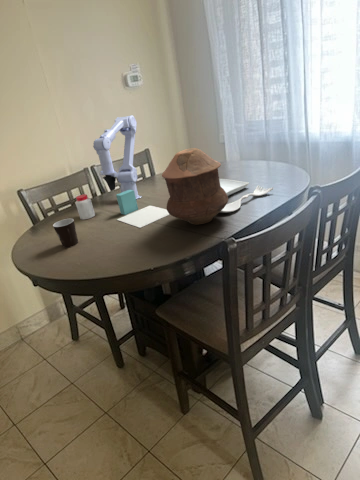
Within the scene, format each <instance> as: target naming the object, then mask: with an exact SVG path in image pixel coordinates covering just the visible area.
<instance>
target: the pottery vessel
mask: <svg viewBox="0 0 360 480" xmlns="http://www.w3.org/2000/svg"><path fill="white" fill-rule="evenodd" d="M221 165H222V163H221V162H219V161H217V160H215V159H213V158H212V157H211V156H210V155H208V154H207V153H205V152H204V151H202V149H199V148H198V147H190V148H186V149H183V150H180V151H178V152H176V153H175V154H174V155H173V157H172V159H171V161H170V162H169V163H168V165H167V167H165V169H164V171H163V172H162V174H161V177H162V178H163V179H164V180H165V184H166V187H167V191H168V195H169V198H168V200H167V202H166V209H167V211H168V213H169V214H170V215H169V216H172V217H173V218H176V219H179V220H182V221H185V222H187V223H188V222H189V223H190V224H192V225H203V224H207V223H209V222H211V221H213V218H214V217H215V216H217V215H218V214H219V213H221V212H220V211H221V210H222V209H223V208H224V207H225V206H226V204H228V202H229V196H227V194H226V192H225V191H224V189H223V188H222V187H221V186H220V181H219V179H220V176H219V168H220V167H221Z"/></svg>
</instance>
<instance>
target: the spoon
mask: <svg viewBox="0 0 360 480" xmlns="http://www.w3.org/2000/svg"><path fill="white" fill-rule="evenodd" d="M273 190H274V186H273V187H267V188H266V187H262V186H260V185H256V188H255V189H254V191H253V192H252V193H247V194H245V195H242V196H241V197H240V198H238V199H237V200H235V201H233V202H229V203H227V204H226V206H225V207H224V208H223V209H222V210H221V211H220V212H219V213H225V214H226V213H232V212H233V213H234V212H236V211H237V210H239V209H240V207H241V205H242V201H243V200H244V199H248V198H249V197H262V196H264V195H266V194H267V193H269V192H272V191H273Z"/></svg>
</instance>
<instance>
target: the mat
mask: <svg viewBox="0 0 360 480" xmlns="http://www.w3.org/2000/svg"><path fill="white" fill-rule="evenodd" d="M168 216H171V215H170V214H169V213H168V211H167V208H163V207H158V206H154V205H147V206H145V207H143V208H140V209H138V210H136V211H134V212H131V213H129V214H127V215H124V216H122V217H119V218H117V219H116V221H119V222H122V223H124V224H127V225H130V226H133V227H136V228H139V229H142V228H143V227H146V226H148V225H151V224H152V223H155V222H157V221H159V220H162V219H163V218H166V217H168Z"/></svg>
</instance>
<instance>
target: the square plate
mask: <svg viewBox="0 0 360 480" xmlns="http://www.w3.org/2000/svg"><path fill="white" fill-rule="evenodd" d="M219 181H220V186H221V187H222V188H223V189H224V191H225V192H226V194H227V196H228V197H229V196H230V195H233V194H235V193H237V192H239V191H241V190H243V189H245V188H246V187H248V186H249V184H250V182H249V181H241V180H234V179H227V178H219Z"/></svg>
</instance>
